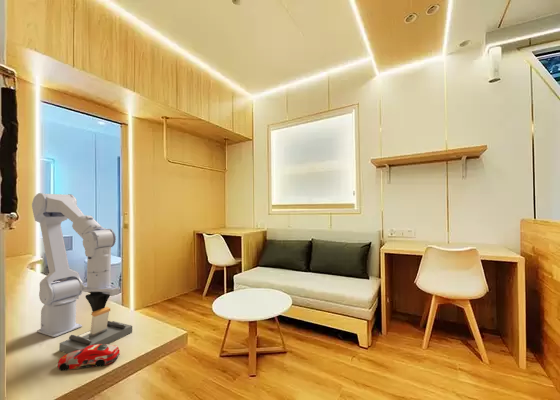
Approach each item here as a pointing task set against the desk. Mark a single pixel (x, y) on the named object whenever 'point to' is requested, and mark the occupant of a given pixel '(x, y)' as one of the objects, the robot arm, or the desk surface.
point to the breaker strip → (96, 337)
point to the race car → (89, 357)
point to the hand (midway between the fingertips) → (98, 317)
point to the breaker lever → (99, 321)
